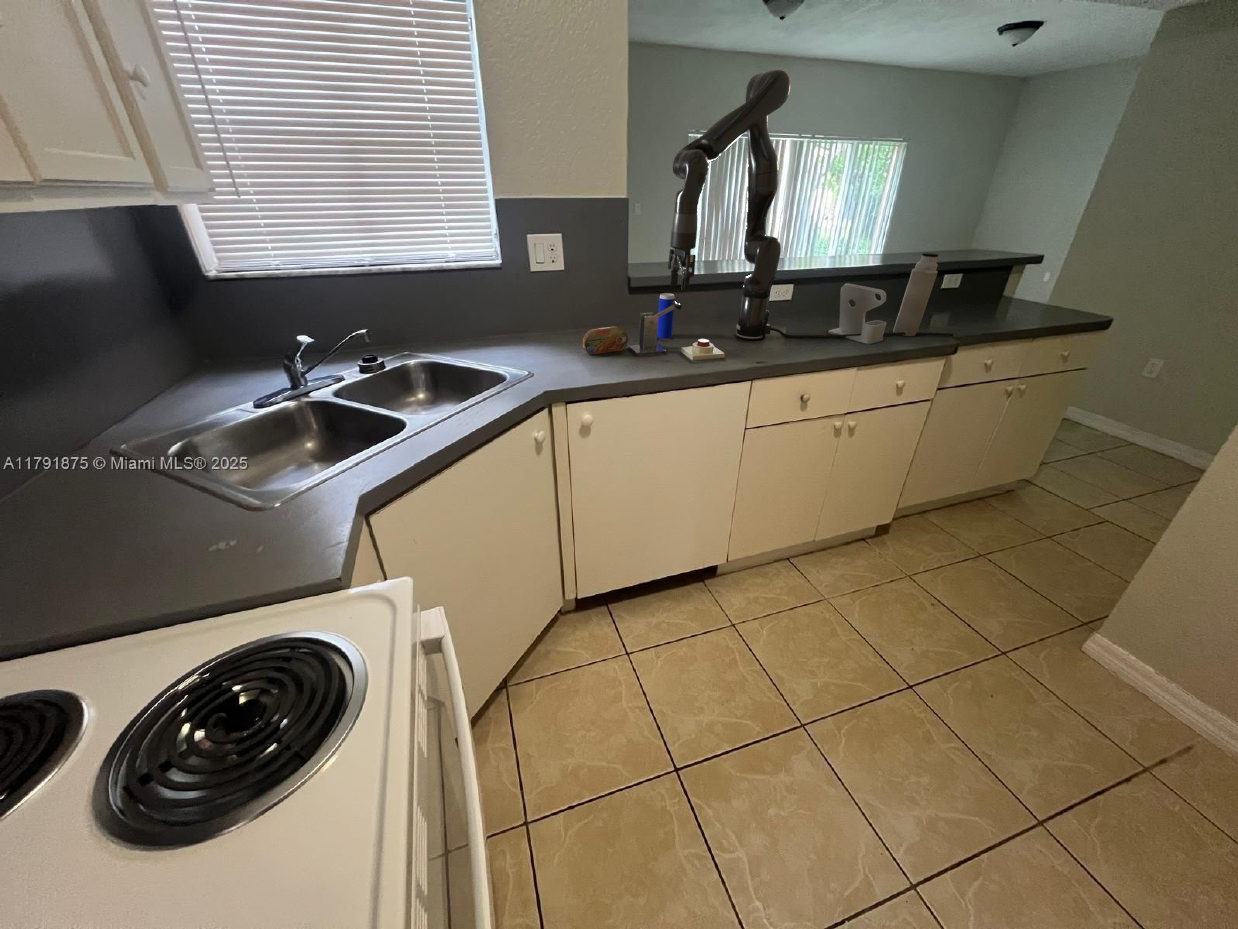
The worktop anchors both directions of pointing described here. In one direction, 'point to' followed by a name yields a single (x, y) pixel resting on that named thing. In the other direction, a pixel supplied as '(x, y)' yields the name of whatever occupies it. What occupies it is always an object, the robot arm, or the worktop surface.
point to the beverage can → (665, 316)
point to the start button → (703, 342)
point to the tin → (605, 340)
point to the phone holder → (860, 314)
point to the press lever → (668, 309)
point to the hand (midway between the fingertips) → (679, 288)
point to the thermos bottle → (917, 295)
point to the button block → (702, 352)
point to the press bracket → (647, 335)
